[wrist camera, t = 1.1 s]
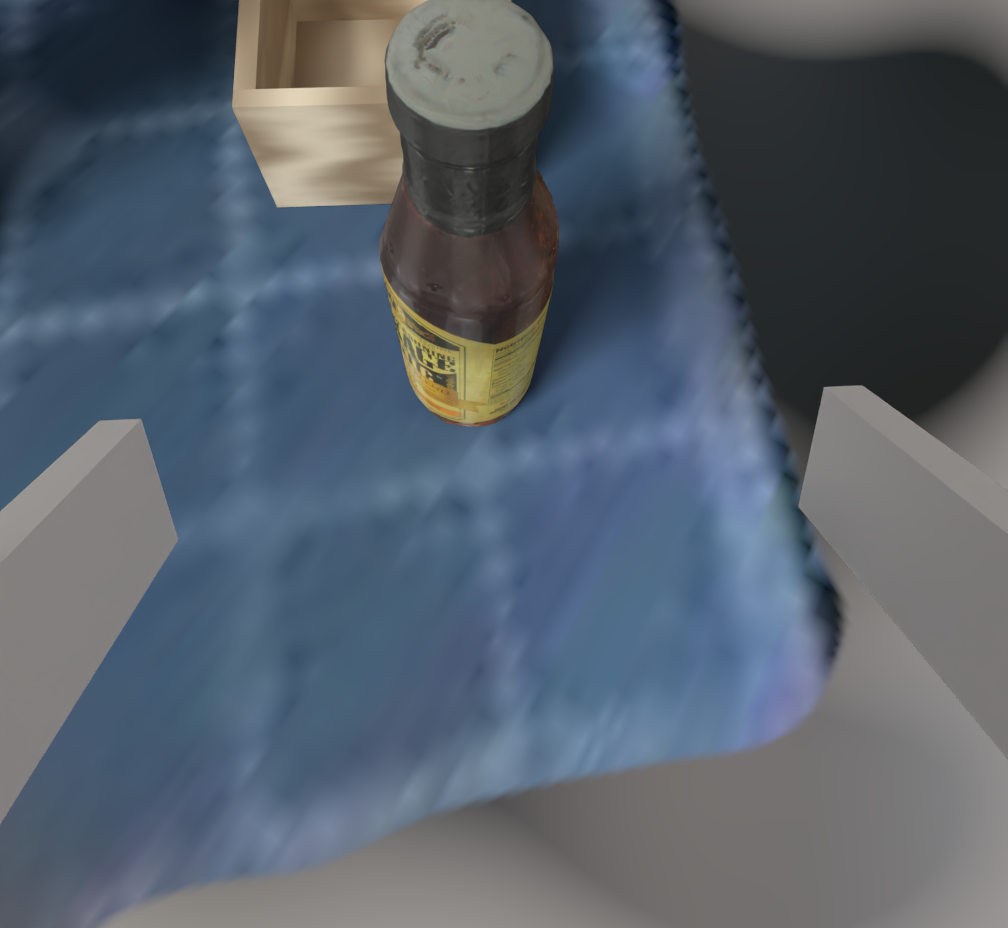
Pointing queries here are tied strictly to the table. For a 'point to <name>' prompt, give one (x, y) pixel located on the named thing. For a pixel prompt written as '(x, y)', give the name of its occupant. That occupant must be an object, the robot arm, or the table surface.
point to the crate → (319, 98)
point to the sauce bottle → (469, 204)
